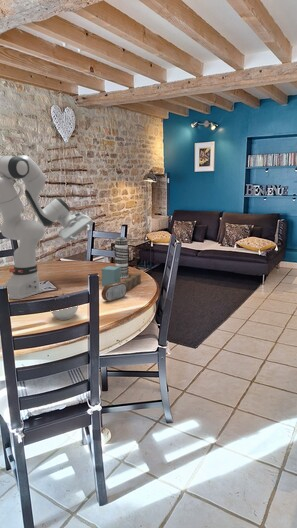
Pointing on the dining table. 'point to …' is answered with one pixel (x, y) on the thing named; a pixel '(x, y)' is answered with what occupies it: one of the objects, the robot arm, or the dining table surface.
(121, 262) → the decorative candle
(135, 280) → the walnut board
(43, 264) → the dining table surface
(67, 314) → the lidded bowl
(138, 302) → the dining table surface
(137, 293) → the dining table surface
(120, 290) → the oval wooden speaker
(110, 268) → the slate block
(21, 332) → the dining table surface
